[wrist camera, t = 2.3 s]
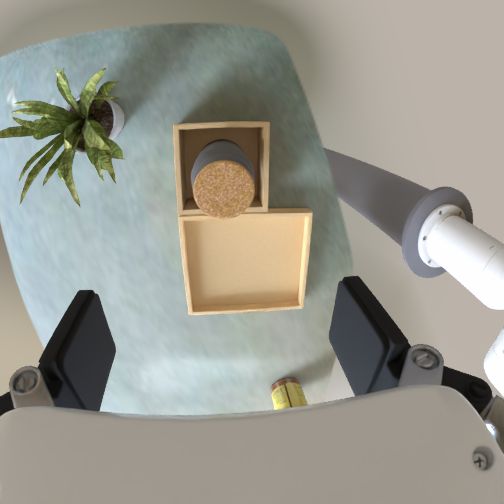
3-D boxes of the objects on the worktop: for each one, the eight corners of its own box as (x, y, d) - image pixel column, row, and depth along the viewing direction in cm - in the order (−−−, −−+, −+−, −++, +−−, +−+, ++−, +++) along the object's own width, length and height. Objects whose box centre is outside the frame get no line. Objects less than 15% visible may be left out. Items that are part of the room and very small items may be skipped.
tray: (308, 207, 40) (312, 212, 38) (299, 300, 47) (303, 308, 45) (180, 211, 38) (178, 216, 36) (189, 306, 45) (189, 315, 43)
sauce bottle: (272, 397, 57) (289, 479, 39) (267, 380, 54) (286, 469, 37) (302, 390, 57) (326, 470, 39) (300, 372, 54) (327, 458, 37)
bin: (262, 121, 34) (269, 122, 30) (261, 199, 39) (267, 211, 34) (179, 123, 33) (173, 124, 28) (183, 202, 38) (178, 215, 33)
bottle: (254, 163, 36) (277, 192, 23) (220, 193, 37) (222, 240, 24) (222, 129, 34) (226, 136, 20) (188, 161, 35) (169, 190, 22)
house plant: (57, 182, 34) (-13, 225, 19) (52, 86, 28) (-26, 84, 13) (151, 173, 36) (109, 214, 21) (150, 68, 30) (104, 37, 15)
